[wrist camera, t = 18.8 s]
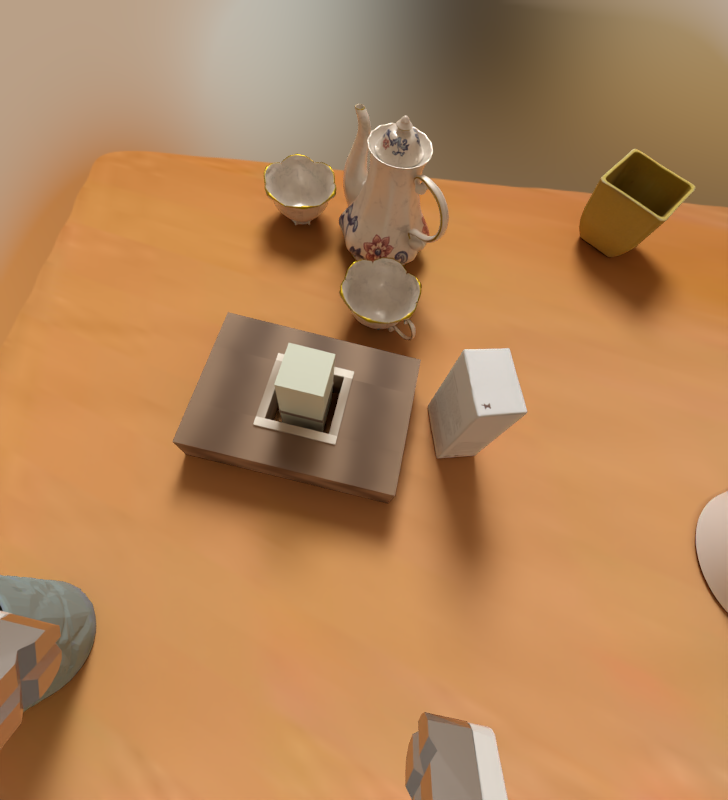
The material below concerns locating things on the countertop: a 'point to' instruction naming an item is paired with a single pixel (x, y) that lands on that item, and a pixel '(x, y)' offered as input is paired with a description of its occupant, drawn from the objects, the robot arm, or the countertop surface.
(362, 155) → the chinaware
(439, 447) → the skincare box
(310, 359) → the sage peg
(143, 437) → the countertop surface
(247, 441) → the socket board
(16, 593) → the blue-grey embossed planter
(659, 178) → the flower pot
